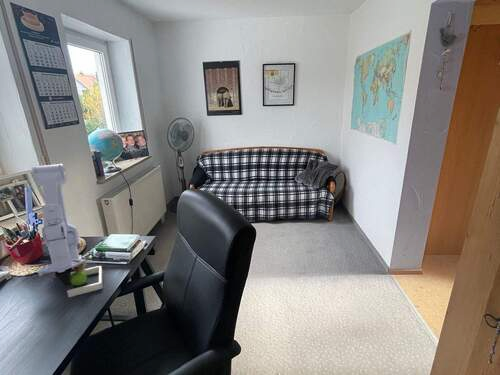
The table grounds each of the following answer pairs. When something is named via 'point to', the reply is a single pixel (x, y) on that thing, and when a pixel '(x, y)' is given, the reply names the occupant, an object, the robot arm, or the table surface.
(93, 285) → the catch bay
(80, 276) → the snail figurine
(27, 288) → the table surface
